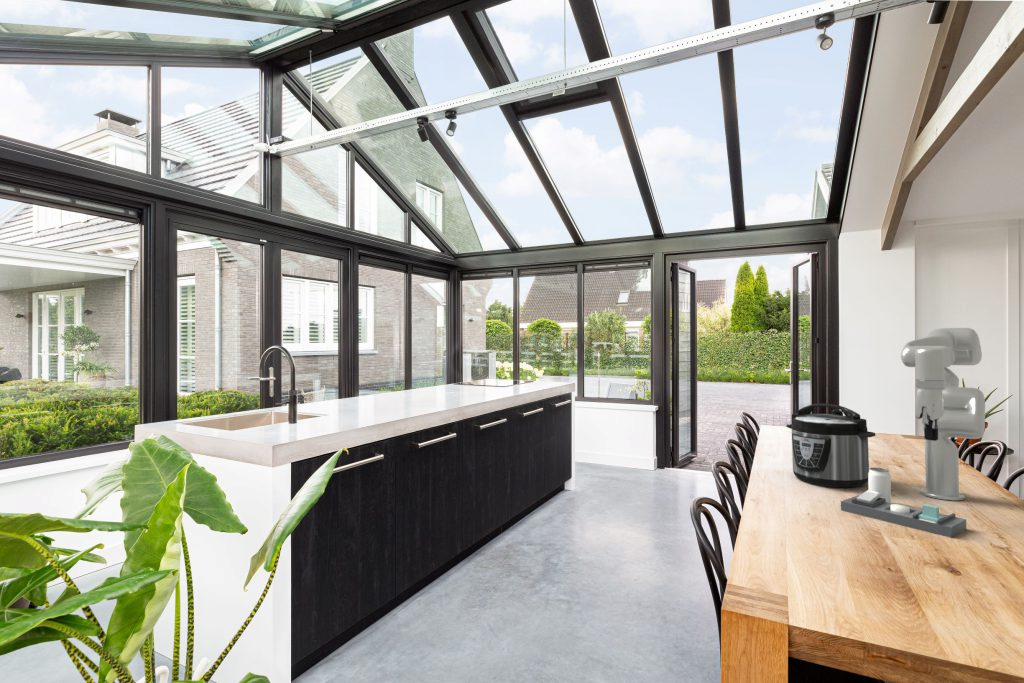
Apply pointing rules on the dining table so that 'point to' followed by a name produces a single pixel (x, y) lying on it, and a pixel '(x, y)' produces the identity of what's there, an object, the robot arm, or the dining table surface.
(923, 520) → the control panel
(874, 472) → the can
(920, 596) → the dining table surface
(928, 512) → the teal slide switch
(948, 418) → the robot arm
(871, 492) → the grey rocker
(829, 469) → the pressure cooker
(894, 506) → the push button
